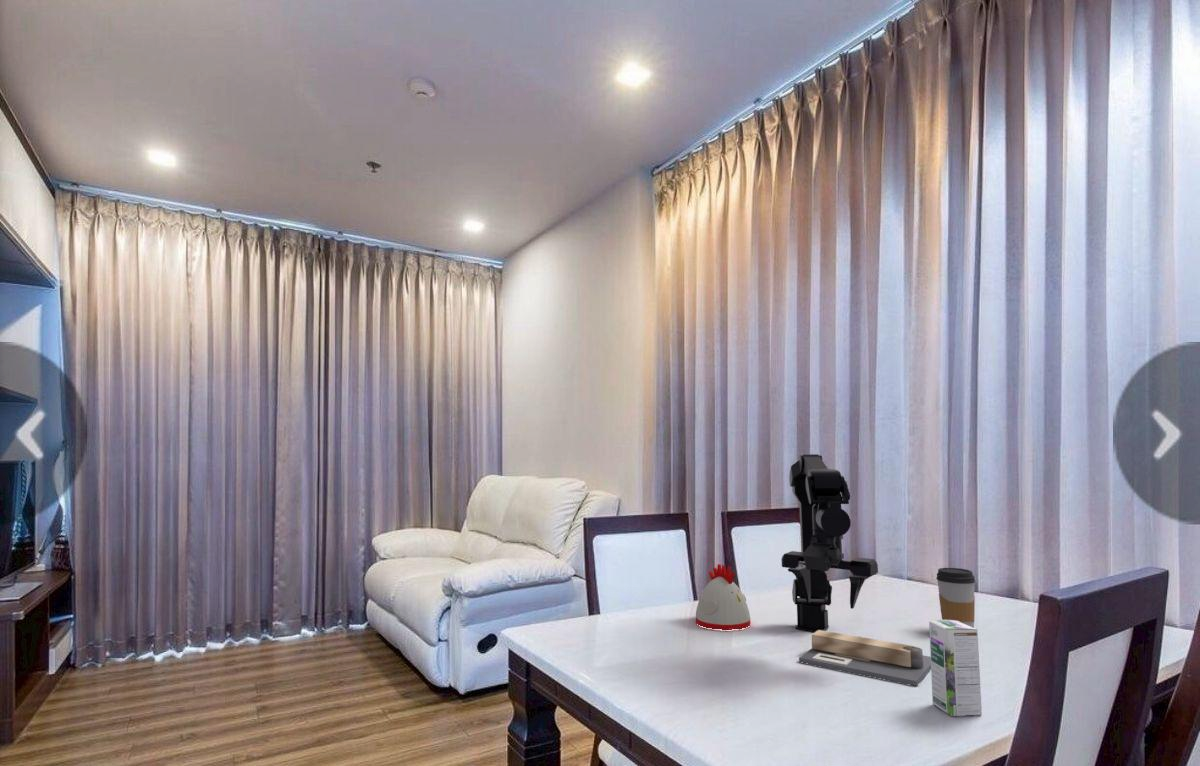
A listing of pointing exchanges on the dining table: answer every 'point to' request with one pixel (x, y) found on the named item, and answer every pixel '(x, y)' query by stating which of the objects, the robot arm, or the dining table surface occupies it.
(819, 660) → the label panel
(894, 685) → the dining table surface
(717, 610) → the kitchen timer
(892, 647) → the swing arm
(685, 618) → the dining table surface
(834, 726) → the dining table surface
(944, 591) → the coffee cup
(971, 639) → the syrup box
